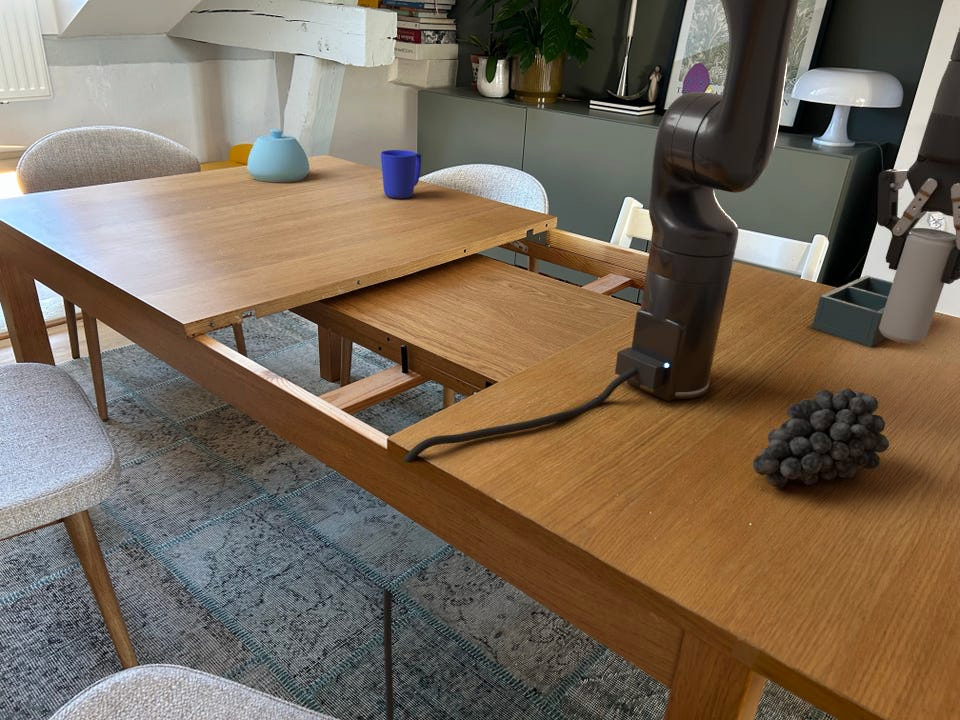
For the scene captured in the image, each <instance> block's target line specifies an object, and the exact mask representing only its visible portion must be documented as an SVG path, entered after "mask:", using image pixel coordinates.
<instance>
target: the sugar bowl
mask: <svg viewBox="0 0 960 720" xmlns="http://www.w3.org/2000/svg"><path fill="white" fill-rule="evenodd" d="M283 132H284V130H283V129H279V128H273V129H269V133H270V134H267V135H261V136H258V137H257V138H256V140H255V142H254V144H253V146H251V147H252V148H251V149H250V152H249V155H248V158H247V165H246V166H247V171H248V173H249V174H250V175H251V176H252V177H253V178H254V179H255V180H257V181H261V182H265V183H292V182H299V181H301V180H304V179H305V178H306V177H307V175H308V174H309V172H310V169H311V168H310V163H309V159H308V156H307V153H306V152H305V150H304V148H303V146H302V145H301V144H300V142H299V141H298V139H297V138H296V137H295V136H291V135H285V134H283Z"/></svg>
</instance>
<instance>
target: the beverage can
mask: <svg viewBox="0 0 960 720" xmlns="http://www.w3.org/2000/svg"><path fill="white" fill-rule="evenodd" d="M955 248H956V233H955V234H954V233H952V232H948V231H946V230H945V231H944V230H940V229H935V228H927V227H914V228H913V229H911V230H910V233H909V235H908V236H907V238H906V241H905V245H904V248H903V251H902V254H901V257H900V261H899V264H898V267H897V270H895V274H894V277H893V281H892V282H893V283H892V286H891V290H890V293H889V296H888V299H887V303H886V306H885V309H884V312H883V316H882V319H881V322H880V325H879V329H880V332H881V334H882V335H883V336H885V337H886V338H885V339H888V340H891V341H894V342H898V343H902V344H909V345H911V344H912V345H913V344H914V345H915V344H919V343H922V342H923V341H924V340H926V339H927V335H928V332H929V329H930V327H931V324H932V321H933V318H934V315H935V312H936V309H937V306H938V303H939V300H940V297H941V295H942V291H943V289H944V286H945V283H942V278H943V275H944V272H945V270H946V267H947V264H948V261H949V258H950V255H951V252H952V249H955Z"/></svg>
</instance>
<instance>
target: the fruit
mask: <svg viewBox="0 0 960 720" xmlns="http://www.w3.org/2000/svg"><path fill="white" fill-rule="evenodd" d="M878 409H879V400H878V399H877V398H876V397H875V396H873V395H871V394H868V393H865V392H863V391H853V389H852V388H849V387H848V388H840V389H839V390H838V391H837V392H836V393H835V394H833V392H832V391H830V390H828V389H820V390H818V391H817V392H816V393H815V395H814V398H813V400H811V399H809V398H808V399H807V398H806V399H803V400H801V401H800V402H795V403H792V404H790V405H789V406H788V408H787V411H786V415H787V417H788V418H789V419H788V420H786V421H784V422H782V423H781V425H780V427H779V428H773V429H772V430H770V432H769V433H768V435H767V441H768V445H767V446H766V447H765V448H763V449H762V450H761V451H760V453H759V455H757V456H756V457H755V458H754V459H753V461H752V469H753V470H754V472H755V473H757V474H758V475H760V476H766V481H767V483H769V484H770V485H771V486H773V487H777V488H782V487H784V486H786V485H787V483H788V480H789V479H790V480H796V479H797V480H799V481H801V482H802V483H803V484H804V485H806V486H813V485H815V484H816V483H817V482H818V481H819V476H820V477H821V478H822V480H826V481H831V480H834V479H836V477H837V476H838V477H839V478H842V479H851V478H853V476H855V474H856V473H857V468H862V469H865V470H869V471H872V470H875V469H877V468H878V467H879V465H880V464H881V461H880V460H881V458H880V456H879V454H880V453H881V454H882V453H884V452H886V451H887V450H888V448H889V446H890V440H889V439H888V438H887V436H886V435H885V434H882V433H883V431H885V428H886V421H885V420H884V418H883V417H882V416H880V415H878V414H873V413H875V412H876V411H877V410H878ZM877 453H879V454H877Z"/></svg>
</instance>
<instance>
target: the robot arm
mask: <svg viewBox="0 0 960 720" xmlns="http://www.w3.org/2000/svg"><path fill="white" fill-rule="evenodd" d="M799 1H800V0H720V2H721V5H722V8H723V11H724V16H725V20H726V25H727V31H728V60H727V67H726V74H725V78H724V80H725V81H724V84H723V88H722V89H723V90H722V94H719V93H713V92H705V91H689V92H687V93H684V94H682V95H680V96H678V97H677V98H676V99H674V101H672V103H671V104H670V105H669V107H668V108H667V109H666V111H665V112H664V114H663V116H662V118H661V121H660V124H659V126H658V130H657V133H656V137H655V143H654V150H653V157H652V169H651V179H650V190H649V201H648V215H649V219H650V223H651V224H650V225H651V231H652V232H651V237H650V244H649V251H648V252H649V253H648V258H647V265H646V271H645V278H644V284H643V285H644V286H643V291H642V298H641V304H640V309H638V310H637V311H636V315H635V319H634V320H635V321H634V327H633V333H632V341H631V346H628V347H626V348H624V349H621V350H619V351H617V356H616V363H615V370H614V374H616V375H617V377H616V378H615V379H613V380H612V381H611V382H610V383H609V384H608V385H607V387H605V389H604V390H603V391H602V392H601V393H600V394H599V395H597V396H596V397H594V398H593V399H591V400H590V401H588V402H586V403H585V404H582V405H581V406H577V407H576V408H572V409H569V410H568V409H567V410H565V411H560V412H557V413H552V414H549V415H545V416H542V417H538V418H534V419H530V420H526V421H521V422H516V423H515V422H514V423H509V424H502V425H497V426H492V427H491V426H490V427H485V428H481V429H476V430H471V431H467V432H462V433H456V434H445V435H443V434H442V435H436V436H432V437H428V438H426V439H424V440H422V441H420V442H418V443H417V444H416V445H414V446H413V447H412V448H411V449H410V450H409V451H408V452H407V454H406V455H405V457H404V458H403V462H404V463H411V462H413V461H414V460H415V459H416V458H417V457H418V456H419V455H421V454H422V453H423V452H424V451H426V450H428V449H429V448H431V447H435V446H440V445H448V444H449V445H450V444H459V443H465V442H469V441H473V440H474V441H475V440H477V439H483V438H488V437H494V436H498V435H504V434H509V433H515V432H522V431H525V430H526V431H527V430H530V429H535V428H539V427H542V426H546V425H549V424H553V423H557V422H561V421H564V420H569V419H572V418H574V417H577V416H578V415H579V416H580V415H581V414H583V413H585V412H587V411H589V410H591V409H594V408H596V407H597V406H599V405H600V404H602V403H603V402H605V401H606V400H607V399H609V397H610V396H611V395H612V394H613V392H614V391H615V390H616V389H617V388H618V387H620V386H621V385H622V384H623V383H626V384H629V385H630V386H633V387H635V388H637V389H640V390H642V391H644V392H647V393H649V394H650V395H653V396H655V397H658V398H660V399H662V400H664V401H666V402H671V401H672V400H687V399H695V398H698V397H702V396H703V395H705V394H706V393H707V392H708V390H709V387H710V382H711V379H710V377H711V373H712V369H713V368H712V367H713V364H714V357H715V353H716V347H717V343H718V339H719V332H720V328H721V324H722V323H721V322H722V318H723V313H724V308H725V304H726V299H727V294H728V293H727V292H728V288H729V284H730V283H729V282H730V278H731V274H732V270H733V263H734V259H735V255H736V249H737V244H738V240H739V226H738V225H737V222H735V221H734V220H733V219H732V218H731V216H729V214H728V213H727V212H726V211H724V209H723V208H722V207H721V205H720V204H719V202H718V200H717V198H716V195H715V190H718V191H721V192H726V193H731V194H732V193H733V194H735V193H737V194H738V193H742V192H745V191H748V190H749V189H750V188H752V187H753V186H754V185H756V183H758V181H759V180H760V179H761V178H762V176H763V175H764V173H765V172H766V169H767V167H768V165H769V164H770V161H771V158H772V155H773V151H774V149H775V145H776V141H777V137H778V131H779V125H780V119H781V113H782V112H781V111H782V107H783V106H782V105H783V98H784V91H785V90H784V89H785V83H786V75H787V69H788V60H789V54H790V47H791V42H792V37H793V30H794V25H795V21H796V17H797V10H798V6H799ZM926 122H927V123H926V126H925V130H924V132H923V136H922V139H921V142H920V146H919V149H918V153H917V156H916V160H915V161H914V162H913V164H912V165H911V166H910V167H909V168H908V169H902V170H901V169H900V170H898V169H895V168H893V169H887V170H883V171H880V173H879V175H878V184H877V185H878V186H877V187H878V188H877V217H876V221H877V225H878V226H880V227H884V228H886V229H888V231H890V233H891V238H890V242H889V244H888V248H887V251H886V254H885V263H887V264H888V269H889V270H893V271H896V270H897V267H898V264H899V261H900V257H901V254H902V251H903V248H904V245H905V241H906V238H907V236H908V235H909V234H911V232H910V230H911V229H913V228H916V225H917V224H918V223H919V222H920V220H921V219H922V218H923V217H924V216H925V215H926V214H927V213H940V214H942V215H945V216H948V217H952V218H953V219H952V220H953V222H952V223H953V228H954V229H955V235H956V248H955V249H952V252H951V255H950V258H949V261H948V264H947V267H946V270H945V272H944V275H943V278H942V283H944V284H947V285H951V284H953V283H954V282H955V281H957V280H960V27H959V28H958V31H957V34H956V37H955V41H954V45H953V47H952V51H951V54H950V58H949V61H948V63H947V66H946V68H945V70H944V72H943V75H942V77H941V79H940V81H939V84H938V87H937V91H936V94H935V97H934V100H933V103H932V107H931V109H930V113H929V116H928V119H927V121H926ZM906 181H908V185H909V187H910V189H911V192H912V194H913V196H914V197H913V199H912V200H911V201H910V203H909V204H908V205H907V207H906V208H905V210H904V211H903V212H902V215H901V217H899V215H898V214H899V213H898V211H899V190H902V189H903V188H904V186H905V182H906ZM392 598H393V594H392V592H391V591H389V590H388V589H387V587H385V586H383V655H384V656H383V657H384V658H383V659H384V687H385V689H384V690H385V716H386V718H385V719H386V720H394V685H393V684H394V682H393V681H394V680H393V677H394V676H393V646H392V645H393V644H392V643H393V639H392V638H393V637H392V632H393V631H392V629H393V628H392V607H393V605H392V604H393V602H392V601H393V599H392Z"/></svg>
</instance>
